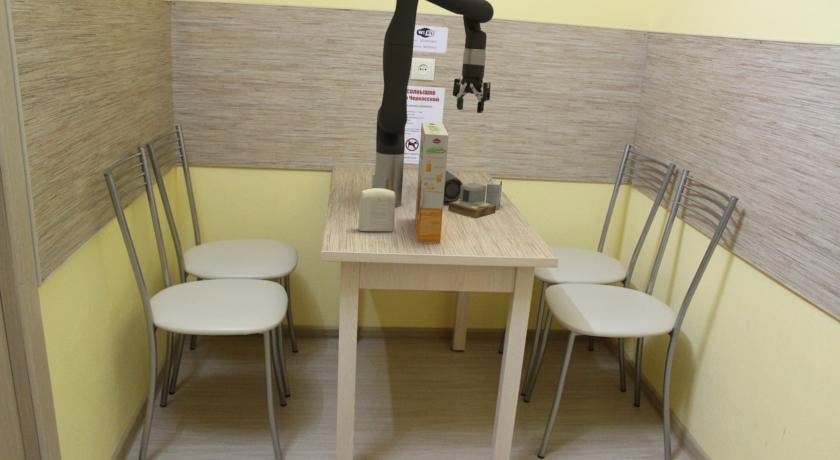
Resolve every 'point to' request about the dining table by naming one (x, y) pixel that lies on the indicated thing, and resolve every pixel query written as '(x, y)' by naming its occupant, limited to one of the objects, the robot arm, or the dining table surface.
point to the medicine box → (494, 192)
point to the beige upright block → (377, 210)
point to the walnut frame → (472, 209)
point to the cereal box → (431, 181)
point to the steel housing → (472, 194)
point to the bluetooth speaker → (451, 188)
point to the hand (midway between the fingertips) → (469, 111)
